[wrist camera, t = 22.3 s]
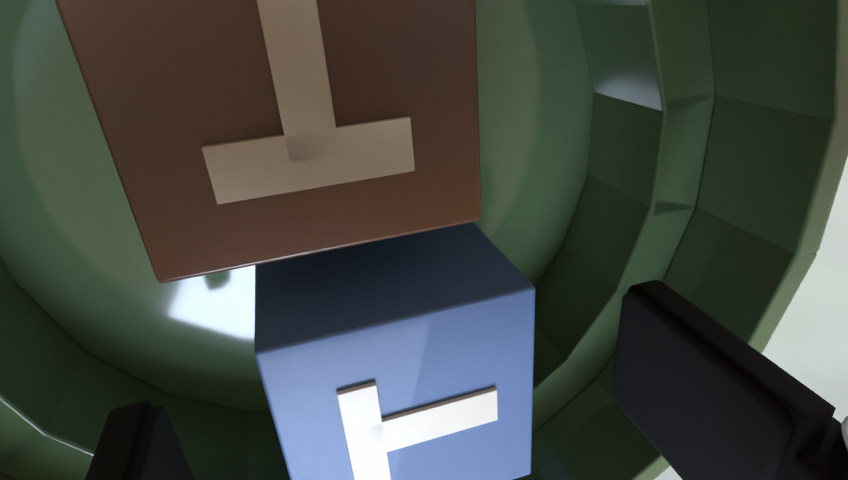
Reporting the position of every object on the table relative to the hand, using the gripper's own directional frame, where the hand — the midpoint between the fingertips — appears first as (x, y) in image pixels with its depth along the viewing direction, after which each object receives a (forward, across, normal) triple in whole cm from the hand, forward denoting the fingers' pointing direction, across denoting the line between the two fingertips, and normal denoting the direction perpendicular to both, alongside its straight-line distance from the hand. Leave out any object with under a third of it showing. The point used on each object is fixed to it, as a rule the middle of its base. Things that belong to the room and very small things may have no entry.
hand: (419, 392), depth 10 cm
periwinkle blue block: (+4, 0, 0) cm, 4 cm away
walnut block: (+4, +1, -6) cm, 8 cm away
